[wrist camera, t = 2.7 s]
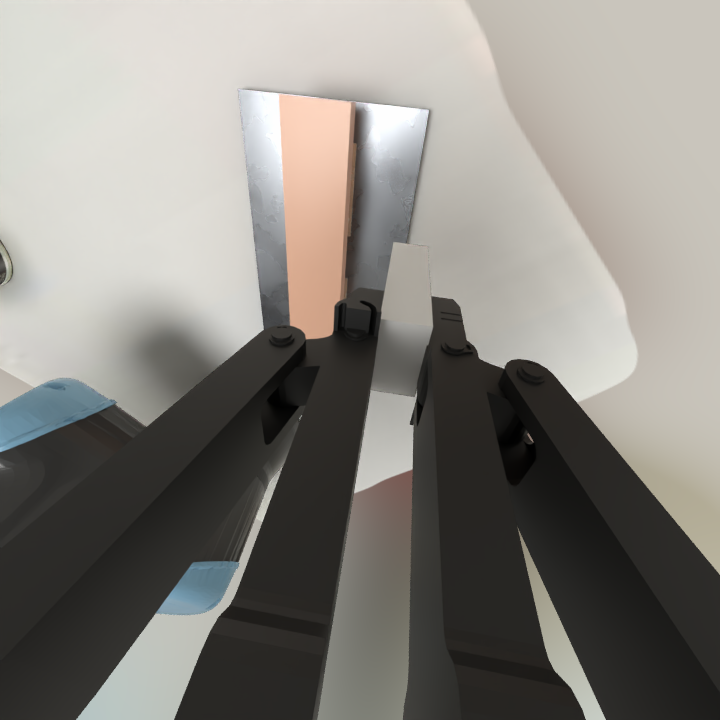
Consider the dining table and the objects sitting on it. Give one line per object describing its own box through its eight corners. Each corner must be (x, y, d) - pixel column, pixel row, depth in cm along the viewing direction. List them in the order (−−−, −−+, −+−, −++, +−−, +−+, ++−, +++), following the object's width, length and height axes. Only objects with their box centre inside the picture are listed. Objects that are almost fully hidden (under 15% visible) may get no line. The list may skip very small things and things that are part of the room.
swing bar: (338, 392, 37) (333, 408, 35) (299, 385, 38) (293, 402, 36) (356, 102, 22) (350, 102, 20) (290, 95, 22) (277, 93, 20)
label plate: (383, 376, 40) (380, 398, 38) (270, 359, 41) (259, 379, 38) (428, 109, 24) (430, 110, 22) (243, 89, 25) (221, 87, 22)
